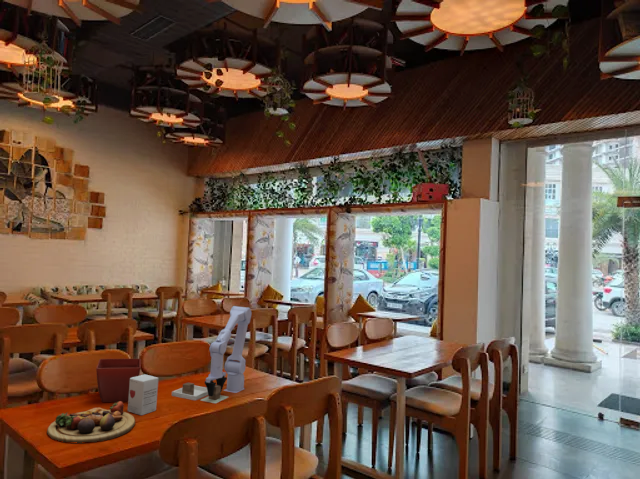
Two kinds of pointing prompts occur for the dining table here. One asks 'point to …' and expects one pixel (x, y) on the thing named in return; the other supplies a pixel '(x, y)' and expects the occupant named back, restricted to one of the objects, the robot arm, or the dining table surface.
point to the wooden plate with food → (92, 425)
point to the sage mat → (214, 400)
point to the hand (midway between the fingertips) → (214, 393)
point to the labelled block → (216, 393)
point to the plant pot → (116, 378)
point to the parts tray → (198, 394)
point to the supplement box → (142, 394)
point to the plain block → (188, 388)
